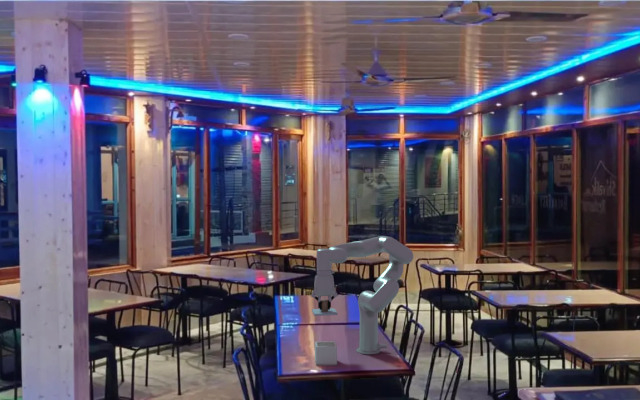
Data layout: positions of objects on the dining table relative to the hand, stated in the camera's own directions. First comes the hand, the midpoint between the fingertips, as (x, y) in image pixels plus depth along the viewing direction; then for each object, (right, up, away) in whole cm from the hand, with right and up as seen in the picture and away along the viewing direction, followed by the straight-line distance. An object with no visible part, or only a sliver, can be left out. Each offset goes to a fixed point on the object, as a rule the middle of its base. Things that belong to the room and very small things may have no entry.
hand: (324, 308), depth 309 cm
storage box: (0, -24, -11) cm, 26 cm away
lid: (0, -2, 0) cm, 2 cm away
